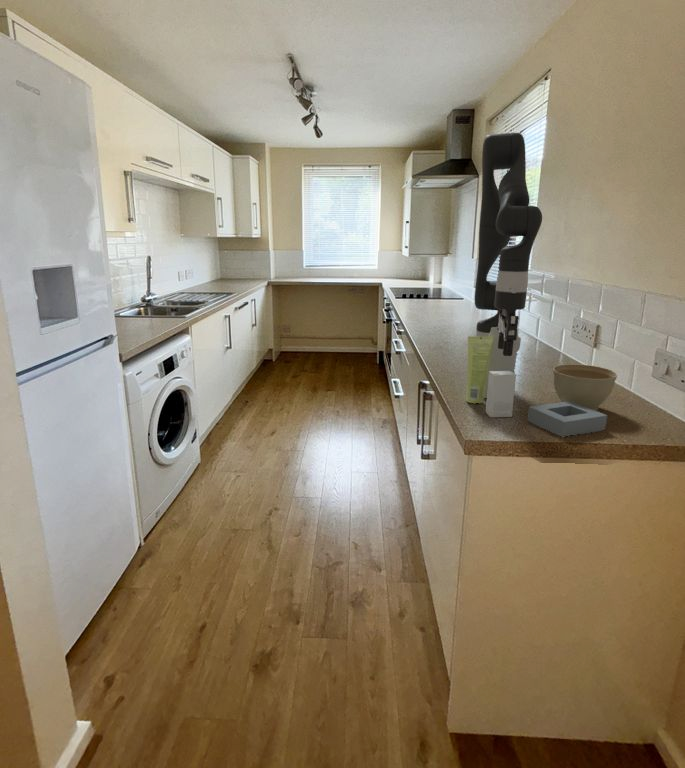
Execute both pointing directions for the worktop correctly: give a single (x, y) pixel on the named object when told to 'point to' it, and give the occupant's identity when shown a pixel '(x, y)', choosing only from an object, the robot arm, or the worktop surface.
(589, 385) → the planter bowl
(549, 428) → the socket frame
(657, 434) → the worktop surface
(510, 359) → the tall pale column
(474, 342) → the tube
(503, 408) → the skincare box
